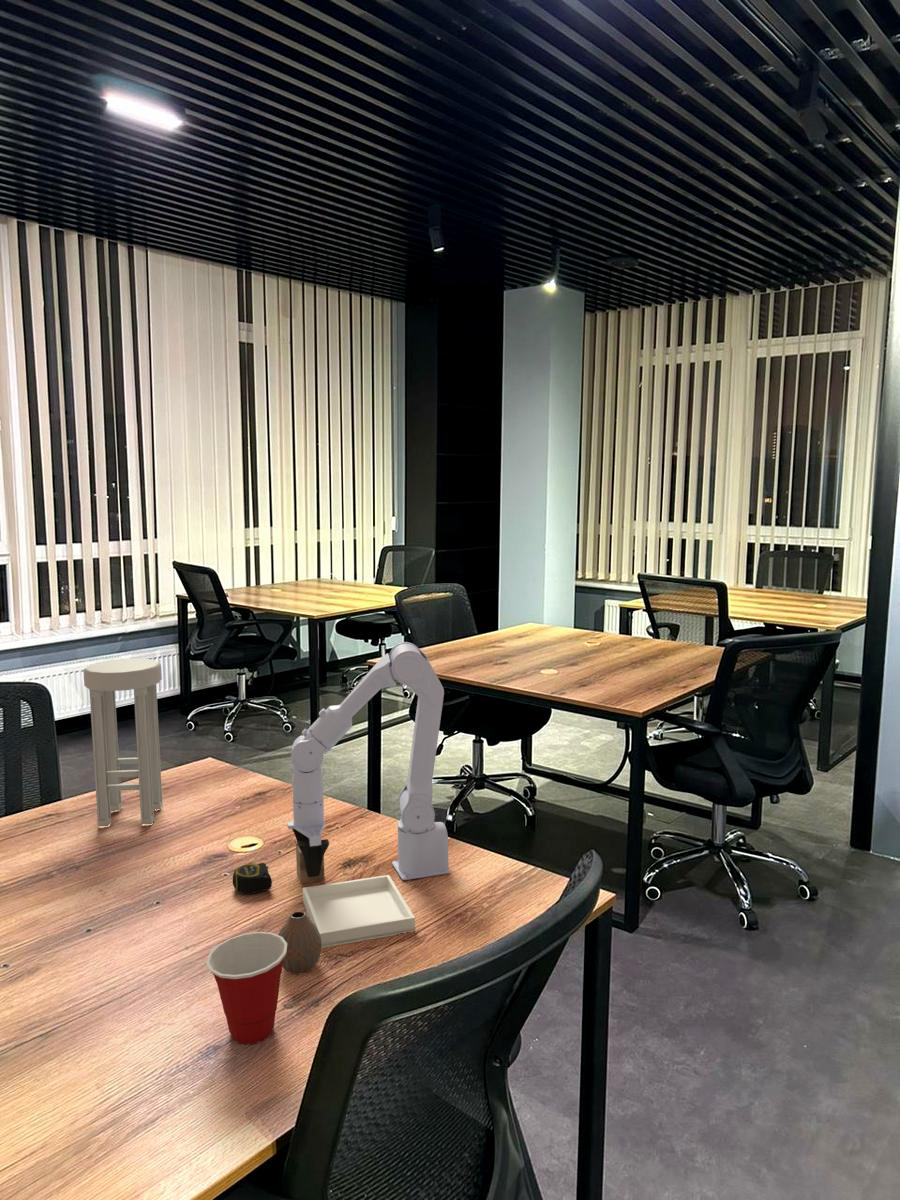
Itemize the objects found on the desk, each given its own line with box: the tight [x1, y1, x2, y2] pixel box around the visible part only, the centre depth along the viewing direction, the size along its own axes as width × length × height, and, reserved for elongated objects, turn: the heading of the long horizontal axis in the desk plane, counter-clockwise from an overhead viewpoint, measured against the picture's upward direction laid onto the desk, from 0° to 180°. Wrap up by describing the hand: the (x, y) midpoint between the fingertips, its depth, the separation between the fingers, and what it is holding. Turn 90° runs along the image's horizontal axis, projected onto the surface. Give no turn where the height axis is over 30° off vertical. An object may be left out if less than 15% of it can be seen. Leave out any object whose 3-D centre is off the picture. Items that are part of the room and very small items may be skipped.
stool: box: [83, 657, 164, 827], centre depth 196 cm, size 16×16×35 cm
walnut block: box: [295, 843, 325, 884], centre depth 168 cm, size 4×4×6 cm
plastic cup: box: [205, 931, 287, 1045], centre depth 120 cm, size 11×11×12 cm
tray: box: [302, 874, 416, 949], centre depth 153 cm, size 16×17×2 cm
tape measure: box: [232, 862, 273, 895], centre depth 164 cm, size 7×7×4 cm
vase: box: [278, 910, 322, 975], centre depth 137 cm, size 7×7×9 cm
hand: (310, 867), depth 168 cm, fingers open, 7 cm apart
